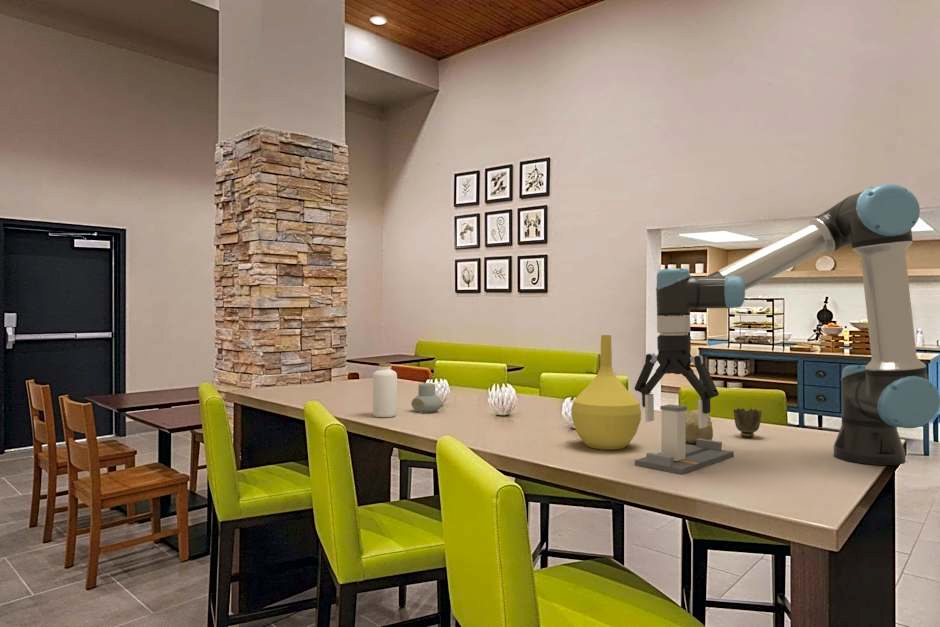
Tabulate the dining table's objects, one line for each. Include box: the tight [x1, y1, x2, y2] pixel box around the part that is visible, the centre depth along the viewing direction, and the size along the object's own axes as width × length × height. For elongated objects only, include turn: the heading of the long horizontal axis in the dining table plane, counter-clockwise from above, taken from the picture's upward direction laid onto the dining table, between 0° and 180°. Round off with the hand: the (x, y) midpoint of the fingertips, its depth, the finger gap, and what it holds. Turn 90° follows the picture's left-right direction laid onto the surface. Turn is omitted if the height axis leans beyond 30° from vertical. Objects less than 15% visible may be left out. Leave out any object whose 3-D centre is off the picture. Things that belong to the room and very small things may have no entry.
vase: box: [570, 334, 642, 451], centre depth 174 cm, size 18×18×30 cm
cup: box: [733, 407, 763, 439], centre depth 186 cm, size 8×7×8 cm
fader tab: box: [659, 403, 688, 461], centre depth 153 cm, size 4×4×12 cm
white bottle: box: [372, 362, 398, 418], centre depth 222 cm, size 8×8×18 cm
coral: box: [686, 408, 714, 445], centre depth 179 cm, size 10×10×10 cm
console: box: [634, 438, 734, 475], centre depth 157 cm, size 26×12×3 cm, turn 134°
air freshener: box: [411, 382, 443, 413], centre depth 232 cm, size 11×8×10 cm
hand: (675, 424), depth 153 cm, fingers open, 13 cm apart
